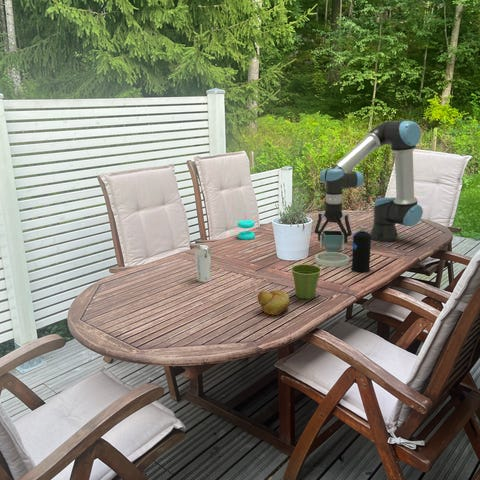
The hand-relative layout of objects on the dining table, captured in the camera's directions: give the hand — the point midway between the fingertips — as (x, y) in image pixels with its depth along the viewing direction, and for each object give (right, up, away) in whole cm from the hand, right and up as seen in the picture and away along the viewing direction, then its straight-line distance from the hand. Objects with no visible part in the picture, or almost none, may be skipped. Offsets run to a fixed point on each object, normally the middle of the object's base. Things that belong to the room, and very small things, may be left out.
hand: (332, 248), depth 210 cm
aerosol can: (+11, -10, -10) cm, 18 cm away
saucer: (0, -6, +2) cm, 6 cm away
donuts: (-40, +5, +46) cm, 62 cm away
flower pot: (0, -1, 0) cm, 1 cm away
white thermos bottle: (-60, -14, -18) cm, 64 cm away
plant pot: (-18, -18, -38) cm, 46 cm away
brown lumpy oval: (-31, -22, -49) cm, 62 cm away
